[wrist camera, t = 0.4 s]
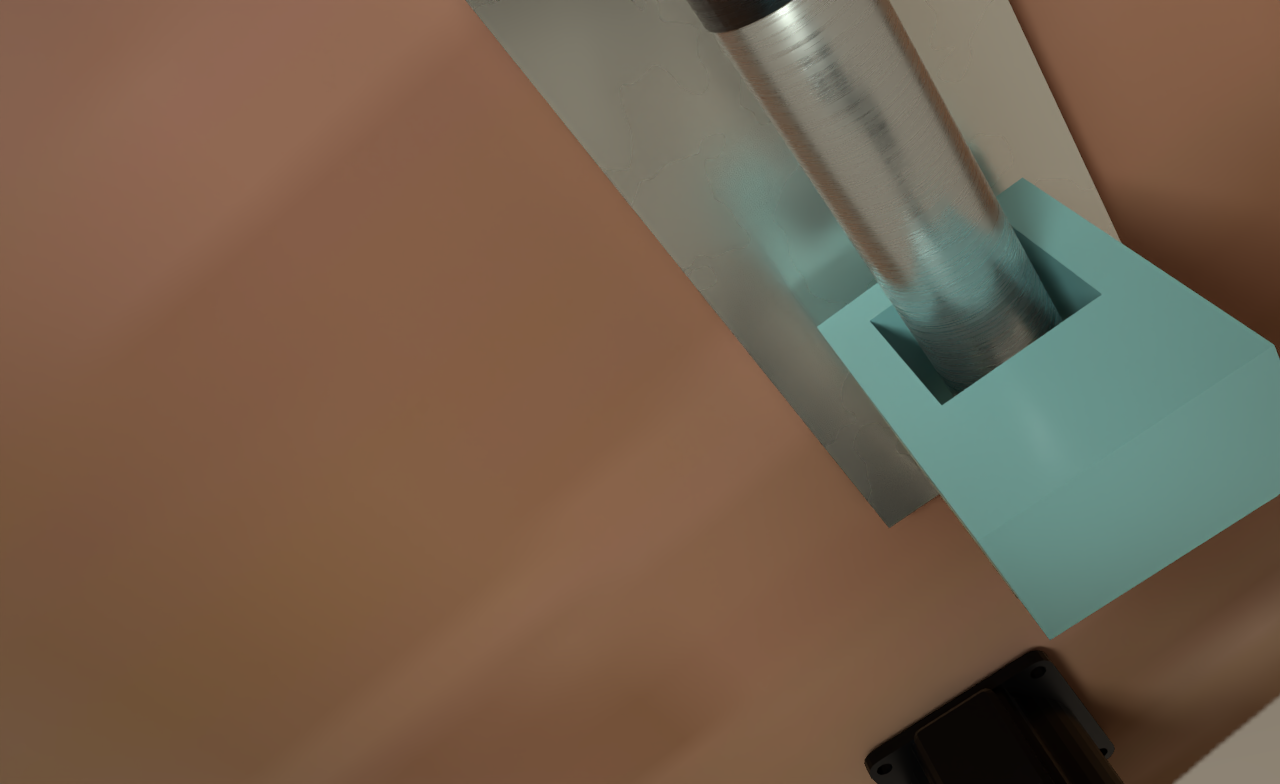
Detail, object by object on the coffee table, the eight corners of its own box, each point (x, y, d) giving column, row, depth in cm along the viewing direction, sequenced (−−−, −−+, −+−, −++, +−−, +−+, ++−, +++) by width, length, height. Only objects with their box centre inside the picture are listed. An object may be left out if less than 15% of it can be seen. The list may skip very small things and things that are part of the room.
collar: (1075, 280, 22) (1321, 467, 16) (881, 415, 23) (1050, 640, 17) (1022, 177, 21) (1274, 344, 15) (816, 326, 21) (978, 541, 16)
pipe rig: (1151, 328, 25) (1311, 448, 21) (879, 513, 27) (976, 663, 22) (674, -678, 14) (804, -869, 10) (249, -274, 16) (196, -284, 11)
